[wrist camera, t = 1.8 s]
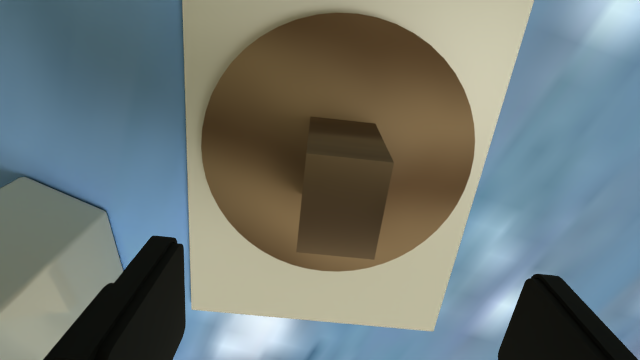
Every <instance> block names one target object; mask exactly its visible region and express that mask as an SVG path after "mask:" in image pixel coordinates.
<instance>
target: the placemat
mask: <svg viewBox="0 0 640 360" xmlns="http://www.w3.org/2000/svg"><path fill="white" fill-rule="evenodd" d="M533 2H534V0H182V5H183V38H184V72H185V105H186V138H187V171H188V204H189V237H190V270H191V303H192V310H202V311H213V312H224V313H235V314H246V315H257V316H269V317H280V318H291V319H302V320H313V321H324V322H335V323H346V324H357V325H368V326H380V327H391V328H402V329H413V330H424V331H434V327H435V324H436V321H437V317H438V314H439V311H440V308H441V304H442V301H443V298H444V294H445V291H446V288H447V285H448V281H449V278H450V275H451V271H452V268H453V265H454V262H455V258H456V255H457V252H458V248H459V245H460V242H461V239H462V235H463V232H464V229H465V226H466V222H467V219H468V216H469V212H470V209H471V206H472V203H473V199H474V196H475V193H476V189H477V186H478V183H479V180H480V176H481V173H482V170H483V166H484V163H485V160H486V157H487V153H488V150H489V147H490V143H491V140H492V137H493V134H494V130H495V127H496V124H497V120H498V117H499V114H500V111H501V107H502V104H503V101H504V97H505V94H506V91H507V88H508V84H509V81H510V78H511V74H512V71H513V68H514V65H515V61H516V58H517V55H518V51H519V48H520V45H521V42H522V38H523V35H524V32H525V28H526V25H527V22H528V19H529V15H530V12H531V9H532V5H533ZM326 13H356V14H362V15H367V16H373V17H378V18H381V19H384V20H386V21H389V22H392V23H395V24H398V25H399V26H401V27H403V28H405V29H407V30H409V31H411V32H413V33H415V34H416V35H417V36H419V37H420V38H422V39H423V40H424V41H426V42H427V43H428V44H430V45H431V46H432V47H433V48H434V49H435V50H436V51H437V52H438V53H439V54H440V55H441V56H442V57H443V58H444V59H445V60H446V61H447V63H448V64H449V65H450V67H451V68H452V69H453V71H454V72H455V73H456V75H457V77H458V79H459V81H460V83H461V84H462V86H463V88H464V90H465V93H466V96H467V98H468V101H469V104H470V107H471V111H472V116H473V121H474V131H475V149H474V160H473V164H472V169H471V173H470V176H469V179H468V182H467V185H466V187H465V190H464V192H463V194H462V196H461V198H460V200H459V202H458V204H457V205H456V207H455V208H454V210H453V211H452V213H451V214H450V216H449V217H448V218H447V220H446V221H445V222H444V223H443V224H442V225H441V226H440V227H439V229H438V230H437V231H436V232H434V233H433V234H432V235H431V236H430V237H429V238H428V239H427V240H425V241H424V242H423V243H421V244H420V245H418V246H417V247H416V248H414V249H413V250H411V251H409V252H407V253H406V254H404V255H402V256H400V257H398V258H396V259H394V260H391V261H389V262H386V263H384V264H380V265H377V266H373V267H370V268H365V269H359V270H354V271H340V272H334V271H319V270H312V269H306V268H302V267H298V266H295V265H291V264H289V263H286V262H283V261H281V260H278V259H276V258H274V257H272V256H270V255H268V254H267V253H265V252H263V251H261V250H260V249H258V248H257V247H256V246H254V245H253V244H251V243H250V242H249V241H248V240H246V239H245V238H244V237H243V236H242V235H241V234H239V233H238V231H237V230H236V229H235V228H234V227H233V226H232V225H231V224H230V223H229V222H228V220H227V219H226V217H225V216H224V214H223V213H222V212H221V210H220V209H219V207H218V205H217V203H216V201H215V199H214V198H213V196H212V194H211V191H210V188H209V185H208V183H207V180H206V176H205V172H204V167H203V163H202V151H201V139H202V127H203V122H204V117H205V112H206V109H207V106H208V103H209V100H210V97H211V95H212V93H213V91H214V89H215V87H216V85H217V83H218V81H219V79H220V78H221V76H222V75H223V73H224V72H225V71H226V69H227V68H228V66H229V65H230V64H231V62H232V61H233V60H234V59H235V58H236V57H237V56H238V55H239V54H240V53H241V52H242V51H243V50H244V49H245V48H246V47H248V46H249V45H250V44H252V43H253V42H254V41H255V40H257V39H258V38H259V37H261V36H262V35H264V34H266V33H268V32H269V31H271V30H273V29H275V28H276V27H278V26H281V25H283V24H286V23H289V22H291V21H294V20H296V19H300V18H304V17H308V16H312V15H316V14H326Z"/></svg>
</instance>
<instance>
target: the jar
mask: <svg viewBox="0 0 640 360" xmlns="http://www.w3.org/2000/svg"><path fill="white" fill-rule="evenodd" d="M122 272H123V268H122V265H121V262H120V258H119V255H118V251H117V248H116V244H115V241H114V237H113V234H112V230H111V226H110V223H109V219H108V216H107V213H106V212H105V211H104V210H101V209H99V208H97V207H94V206H92V205H90V204H87V203H85V202H83V201H80V200H78V199H76V198H73V197H71V196H69V195H66V194H64V193H62V192H59V191H57V190H55V189H52V188H50V187H48V186H45V185H43V184H41V183H38V182H36V181H34V180H31V179H29V178H27V177H20V178H18V179H16V180H14V181H13V182H11V183H9V184H7V185H5V186H3V187H2V188H0V360H43V359H44V358H45V357H46V355H47V354H48V353H49V352H50V351H51V349H52V348H53V347H54V346H55V345H56V343H57V342H58V341H59V340H60V339H61V337H62V336H63V335H64V334H65V333H66V331H67V330H68V329H69V328H70V327H71V325H72V324H73V323H74V322H75V321H76V319H77V318H78V317H79V316H80V315H81V313H82V312H83V311H84V310H85V309H86V307H87V306H88V305H89V304H90V303H91V302H92V300H93V299H94V298H95V297H96V296H97V294H98V293H99V292H100V291H101V290H102V288H103V287H104V286H106V285H107V284H109V283H114V282H115V281H116V280H117V279H118V277H119V276H120V275H121V274H122Z"/></svg>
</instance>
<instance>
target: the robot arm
mask: <svg viewBox="0 0 640 360" xmlns="http://www.w3.org/2000/svg"><path fill="white" fill-rule="evenodd" d="M184 330H185V285H184V249H183V245H182V244H177V240H176V239H175V238H172V237H162V236H152V237H151V238H150V239H149V240H148V241H147V243H146V244H145V245H144V246H143V248H142V249H141V250H140V251H139V253H138V254H137V255H136V256H135V258H134V259H133V260H132V261H131V262H130V264H129V265H128V266H127V267H126V269H125V270H124V271H123V272H122V274H121V275H120V276H119V277H118V279H117V280H116V281H115V282H114V283H109V284H107V285H106V286H104V287H103V288H102V290H101V291H100V292H99V293H98V294H97V296H96V297H95V298H94V299H93V300H92V302H91V303H90V304H89V305H88V306H87V307H86V309H85V310H84V311H83V312H82V313H81V315H80V316H79V317H78V318H77V319H76V321H75V322H74V323H73V324H72V325H71V327H70V328H69V329H68V330H67V331H66V333H65V334H64V335H63V336H62V337H61V339H60V340H59V341H58V342H57V343H56V345H55V346H54V347H53V348H52V349H51V351H50V352H49V353H48V354H47V355H46V357H45V358H44V359H43V360H173V357H174V355H175V353H176V351H177V348H178V346H179V344H180V342H181V340H182V337H183V334H184ZM498 360H638V359H637V358H636V357H635V356H634V355H633V354H632V353H631V352H630V351H629V350H628V348H627V347H626V346H625V345H624V344H623V343H622V342H621V341H620V340H619V339H618V338H617V337H616V336H615V335H614V334H613V333H612V331H611V330H610V329H609V328H608V327H607V326H606V325H605V324H604V323H603V322H602V321H601V320H600V319H599V318H598V317H597V315H596V314H595V313H594V312H593V311H592V310H591V309H590V308H589V307H588V306H587V305H586V304H585V303H584V302H583V301H582V300H581V298H580V297H579V296H578V295H577V294H576V293H575V292H574V291H573V290H572V289H571V288H570V287H569V286H568V285H567V284H566V282H565V281H564V280H563V279H562V278H560V277H559V276H553V275H543V274H535V275H533V276H532V277H531V279H527V280H526V281H525V283H524V286H523V289H522V291H521V294H520V297H519V299H518V302H517V304H516V307H515V310H514V312H513V315H512V318H511V320H510V323H509V326H508V328H507V331H506V333H505V336H504V339H503V341H502V344H501V347H500V349H499V353H498Z"/></svg>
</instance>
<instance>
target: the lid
mask: <svg viewBox="0 0 640 360" xmlns="http://www.w3.org/2000/svg"><path fill="white" fill-rule="evenodd" d="M474 149H475V131H474V121H473V116H472V111H471V107H470V104H469V101H468V98H467V96H466V93H465V90H464V88H463V86H462V84H461V83H460V81H459V79H458V77H457V75H456V73H455V72H454V71H453V69H452V68H451V67H450V65H449V64H448V63H447V61H446V60H445V59H444V58H443V57H442V56H441V55H440V54H439V53H438V52H437V51H436V50H435V49H434V48H433V47H432V46H431V45H430V44H428V43H427V42H426V41H424V40H423V39H422V38H420V37H419V36H417V35H416V34H415V33H413V32H411V31H409V30H407V29H405V28H403V27H401V26H399V25H398V24H395V23H392V22H389V21H386V20H384V19H381V18H378V17H373V16H367V15H362V14H356V13H326V14H316V15H312V16H308V17H304V18H300V19H296V20H294V21H291V22H289V23H286V24H283V25H281V26H278V27H276V28H275V29H273V30H271V31H269V32H268V33H266V34H264V35H262V36H261V37H259V38H258V39H257V40H255V41H254V42H253V43H252V44H250V45H249V46H248V47H246V48H245V49H244V50H243V51H242V52H241V53H240V54H239V55H238V56H237V57H236V58H235V59H234V60H233V61H232V62H231V64H230V65H229V66H228V68H227V69H226V71H225V72H224V73H223V75H222V76H221V78H220V79H219V81H218V83H217V85H216V87H215V89H214V91H213V93H212V95H211V97H210V100H209V103H208V106H207V109H206V112H205V117H204V122H203V127H202V139H201V151H202V163H203V167H204V172H205V176H206V180H207V183H208V185H209V188H210V191H211V194H212V196H213V198H214V199H215V201H216V203H217V205H218V207H219V209H220V210H221V212H222V213H223V214H224V216H225V217H226V219H227V220H228V222H229V223H230V224H231V225H232V226H233V227H234V228H235V229H236V230H237V231H238V233H239V234H241V235H242V236H243V237H244V238H245V239H246V240H248V241H249V242H250V243H251V244H253V245H254V246H256V247H257V248H258V249H260V250H261V251H263V252H265V253H267V254H268V255H270V256H272V257H274V258H276V259H278V260H281V261H283V262H286V263H289V264H291V265H295V266H298V267H302V268H306V269H312V270H319V271H334V272H340V271H354V270H359V269H365V268H370V267H373V266H377V265H380V264H384V263H386V262H389V261H391V260H394V259H396V258H398V257H400V256H402V255H404V254H406V253H407V252H409V251H411V250H413V249H414V248H416V247H417V246H418V245H420V244H421V243H423V242H424V241H425V240H427V239H428V238H429V237H430V236H431V235H432V234H433V233H434V232H436V231H437V230H438V229H439V227H440V226H441V225H442V224H443V223H444V222H445V221H446V220H447V218H448V217H449V216H450V214H451V213H452V211H453V210H454V208H455V207H456V205H457V204H458V202H459V200H460V198H461V196H462V194H463V192H464V190H465V187H466V185H467V182H468V179H469V176H470V173H471V169H472V164H473V160H474Z"/></svg>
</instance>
